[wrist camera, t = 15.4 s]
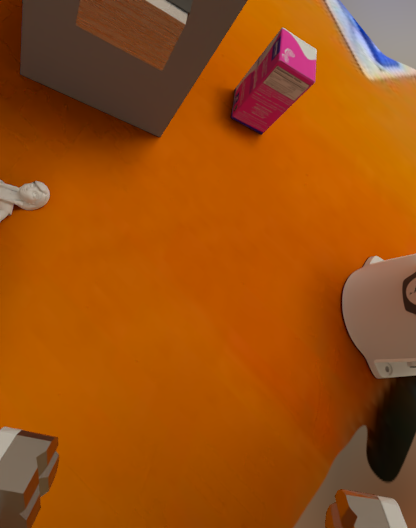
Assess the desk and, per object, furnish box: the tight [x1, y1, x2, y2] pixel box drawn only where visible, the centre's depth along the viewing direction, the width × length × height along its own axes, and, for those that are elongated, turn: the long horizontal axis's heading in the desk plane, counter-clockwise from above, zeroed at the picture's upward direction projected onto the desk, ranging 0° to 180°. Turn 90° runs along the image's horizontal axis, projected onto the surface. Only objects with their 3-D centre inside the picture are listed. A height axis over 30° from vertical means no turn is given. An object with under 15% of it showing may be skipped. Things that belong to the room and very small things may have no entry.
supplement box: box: [231, 28, 317, 135], centre depth 48 cm, size 6×6×12 cm
